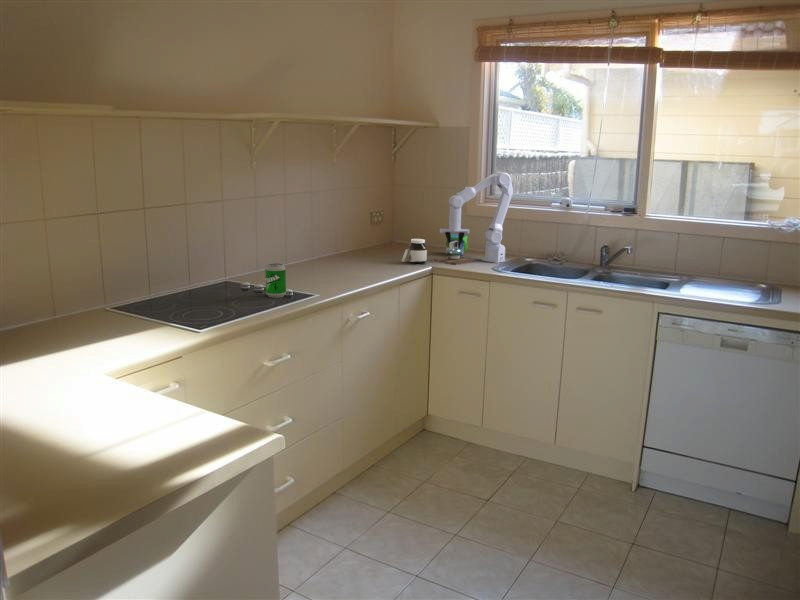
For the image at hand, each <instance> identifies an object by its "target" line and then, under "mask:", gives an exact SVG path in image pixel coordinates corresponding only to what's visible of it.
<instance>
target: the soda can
mask: <svg viewBox="0 0 800 600" xmlns="http://www.w3.org/2000/svg"><path fill="white" fill-rule="evenodd" d="M266 265H267V266H265V267H264V268H265V270H264V272H265V275H264V276H265V294H266V295H267V297H269V298H283V297H285V295H286V294H287V280H286V279H287V277H286V273H287V272H286V266H285V265H284V264H283V263H278V262H276V263H268V264H266Z"/></svg>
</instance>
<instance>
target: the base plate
mask: <svg viewBox="0 0 800 600" xmlns="http://www.w3.org/2000/svg"><path fill="white" fill-rule="evenodd" d="M436 261H439V262H438V263H442V262H445V263H444V264H448V263H451V264H450V265H453V264H458V265H462V264H461V263H463V264H467V262H469V263H472V262H473V263H474V259H473V258H465V257H461V256H460V255H448V254H447V256H443V257H438V258H433V262H436Z"/></svg>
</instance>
